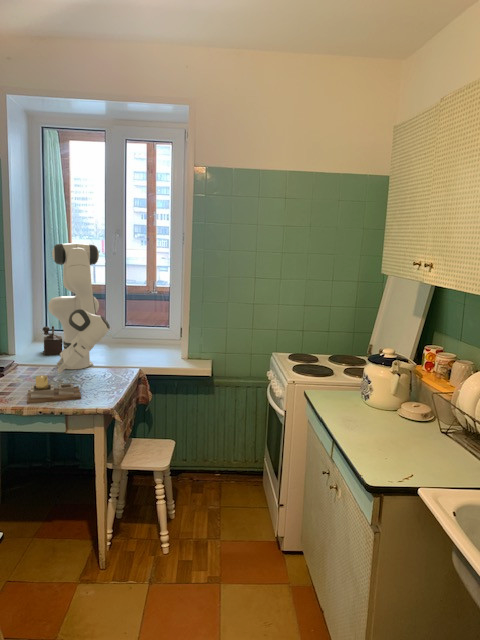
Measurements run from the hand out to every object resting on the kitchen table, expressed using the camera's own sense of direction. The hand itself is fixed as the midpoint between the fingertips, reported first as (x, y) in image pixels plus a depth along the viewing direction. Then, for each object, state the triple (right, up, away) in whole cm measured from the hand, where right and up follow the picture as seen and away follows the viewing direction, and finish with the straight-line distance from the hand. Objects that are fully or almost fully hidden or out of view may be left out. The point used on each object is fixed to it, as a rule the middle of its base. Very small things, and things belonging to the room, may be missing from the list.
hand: (58, 368), depth 217 cm
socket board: (-2, -13, +1) cm, 13 cm away
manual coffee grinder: (-31, +1, +74) cm, 80 cm away
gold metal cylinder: (-7, -11, -1) cm, 13 cm away
